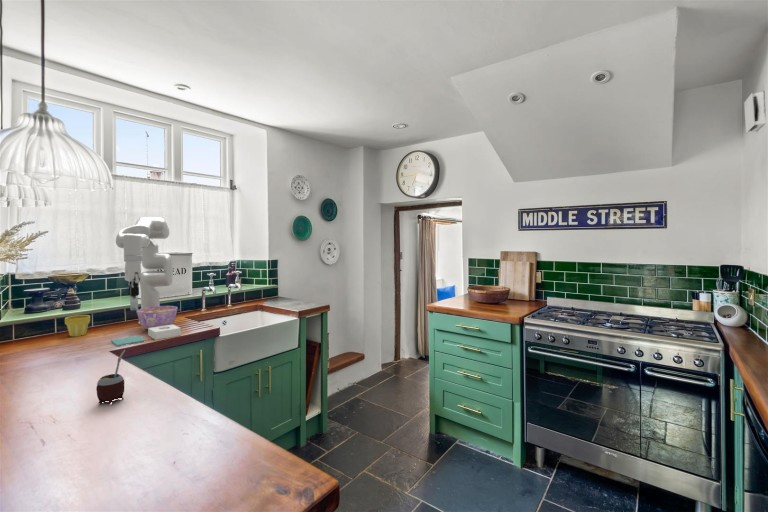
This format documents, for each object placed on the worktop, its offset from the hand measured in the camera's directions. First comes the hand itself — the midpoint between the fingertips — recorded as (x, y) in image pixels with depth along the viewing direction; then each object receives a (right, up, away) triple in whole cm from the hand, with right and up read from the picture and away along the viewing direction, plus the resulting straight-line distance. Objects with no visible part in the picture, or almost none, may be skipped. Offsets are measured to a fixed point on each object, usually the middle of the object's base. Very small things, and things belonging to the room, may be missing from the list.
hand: (133, 294), depth 181 cm
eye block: (+9, -23, +11) cm, 27 cm away
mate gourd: (+40, -27, -67) cm, 82 cm away
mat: (-2, -23, -1) cm, 24 cm away
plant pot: (-37, -23, +11) cm, 45 cm away
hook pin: (0, -8, 0) cm, 8 cm away
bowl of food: (-3, -23, +24) cm, 33 cm away
